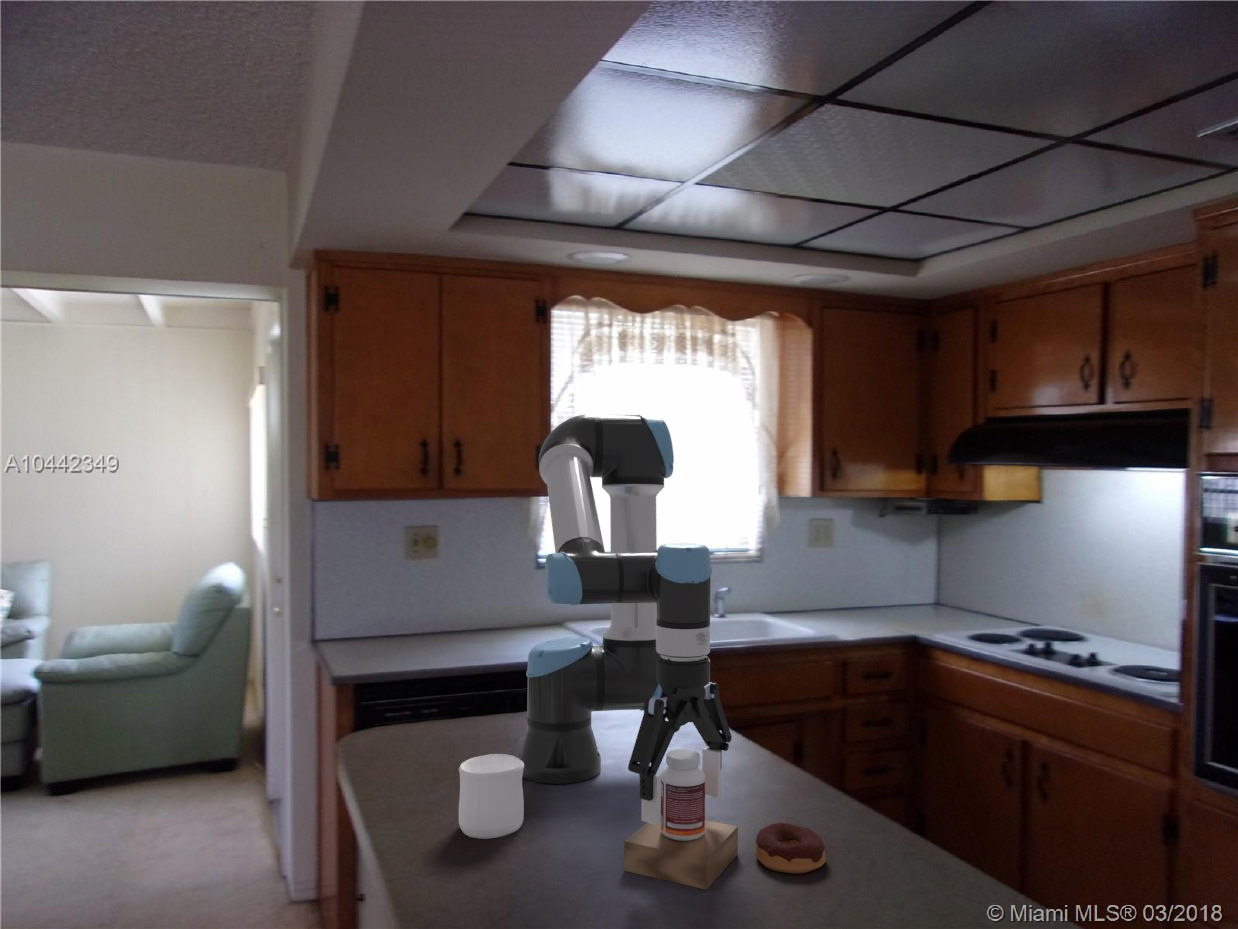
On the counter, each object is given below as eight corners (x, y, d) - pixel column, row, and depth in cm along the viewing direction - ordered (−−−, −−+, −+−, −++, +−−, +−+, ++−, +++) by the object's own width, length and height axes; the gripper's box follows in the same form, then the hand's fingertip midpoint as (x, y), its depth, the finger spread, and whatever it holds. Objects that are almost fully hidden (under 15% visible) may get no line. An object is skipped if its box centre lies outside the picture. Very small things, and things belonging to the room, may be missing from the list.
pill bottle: (714, 836, 125) (714, 756, 125) (678, 846, 121) (679, 764, 121) (686, 821, 130) (687, 744, 130) (651, 830, 127) (652, 751, 127)
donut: (810, 884, 120) (810, 854, 120) (742, 866, 125) (742, 838, 125) (836, 857, 128) (836, 829, 128) (771, 841, 133) (771, 814, 133)
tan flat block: (624, 870, 123) (624, 841, 123) (660, 838, 134) (660, 811, 134) (706, 890, 117) (706, 859, 117) (737, 854, 128) (737, 826, 128)
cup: (533, 819, 141) (533, 757, 141) (504, 844, 131) (505, 777, 131) (479, 811, 144) (479, 750, 144) (447, 835, 134) (447, 770, 134)
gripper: (645, 674, 114) (644, 843, 114) (755, 646, 132) (755, 791, 132) (602, 665, 119) (601, 827, 119) (714, 639, 137) (713, 779, 137)
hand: (682, 808), depth 126 cm, fingers open, 13 cm apart
